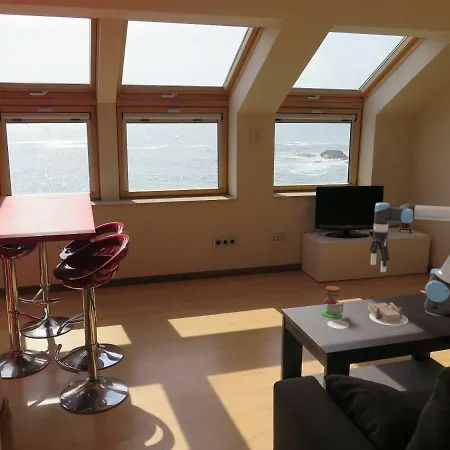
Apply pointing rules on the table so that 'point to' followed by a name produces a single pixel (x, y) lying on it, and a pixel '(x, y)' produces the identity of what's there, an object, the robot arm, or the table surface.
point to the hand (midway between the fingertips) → (378, 268)
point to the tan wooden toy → (376, 312)
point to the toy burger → (332, 303)
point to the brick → (387, 313)
